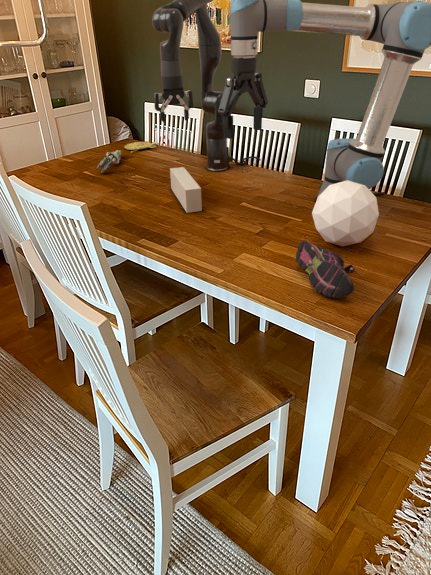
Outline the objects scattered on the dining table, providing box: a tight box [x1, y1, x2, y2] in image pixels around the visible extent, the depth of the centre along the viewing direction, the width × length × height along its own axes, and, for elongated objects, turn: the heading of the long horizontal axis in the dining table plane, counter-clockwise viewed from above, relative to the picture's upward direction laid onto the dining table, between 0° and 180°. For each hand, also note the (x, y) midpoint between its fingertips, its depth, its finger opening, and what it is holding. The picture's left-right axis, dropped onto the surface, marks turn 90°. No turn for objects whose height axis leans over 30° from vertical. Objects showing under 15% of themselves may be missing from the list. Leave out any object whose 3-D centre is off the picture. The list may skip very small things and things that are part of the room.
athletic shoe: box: [295, 240, 357, 299], centre depth 118 cm, size 11×22×12 cm
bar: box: [169, 166, 203, 214], centre depth 172 cm, size 27×6×9 cm, turn 17°
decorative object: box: [124, 141, 157, 154], centre depth 239 cm, size 21×2×20 cm
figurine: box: [96, 150, 123, 174], centre depth 213 cm, size 7×8×30 cm
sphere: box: [311, 180, 380, 248], centre depth 135 cm, size 19×20×20 cm
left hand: (175, 121), depth 168 cm, fingers open, 8 cm apart
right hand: (243, 133), depth 137 cm, fingers open, 13 cm apart
